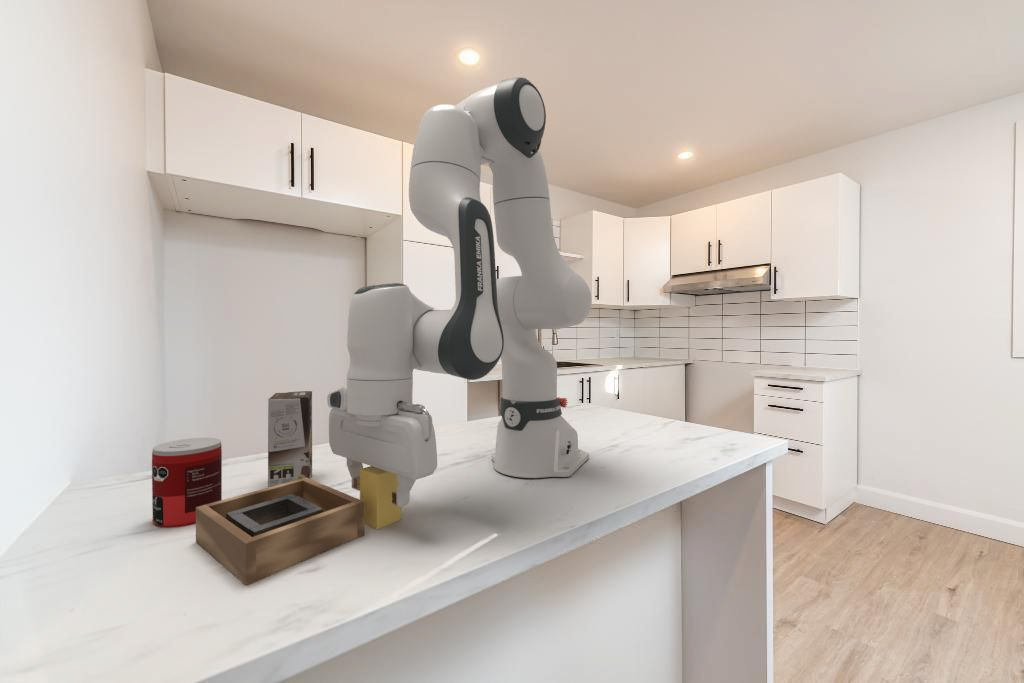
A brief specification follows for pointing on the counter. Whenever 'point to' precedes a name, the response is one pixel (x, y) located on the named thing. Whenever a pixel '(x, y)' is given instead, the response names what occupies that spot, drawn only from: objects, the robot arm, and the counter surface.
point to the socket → (272, 514)
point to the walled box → (278, 530)
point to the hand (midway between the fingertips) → (379, 496)
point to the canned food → (185, 479)
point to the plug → (378, 497)
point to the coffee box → (289, 437)
